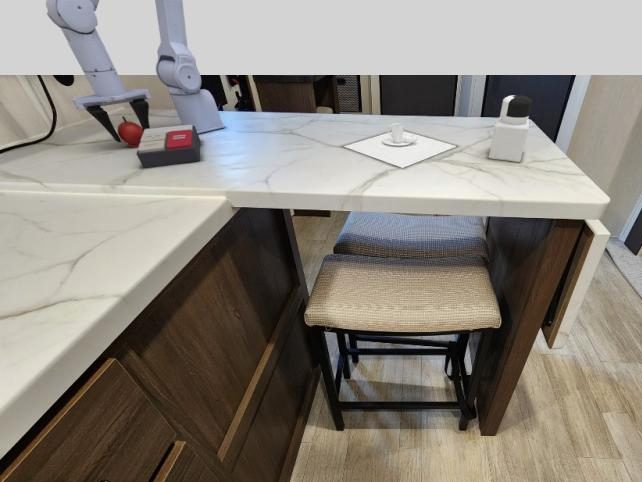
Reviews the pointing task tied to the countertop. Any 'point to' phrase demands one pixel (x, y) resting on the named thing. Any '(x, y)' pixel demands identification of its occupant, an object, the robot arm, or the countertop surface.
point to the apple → (130, 133)
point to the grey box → (169, 146)
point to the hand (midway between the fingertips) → (134, 138)
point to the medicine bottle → (511, 129)
